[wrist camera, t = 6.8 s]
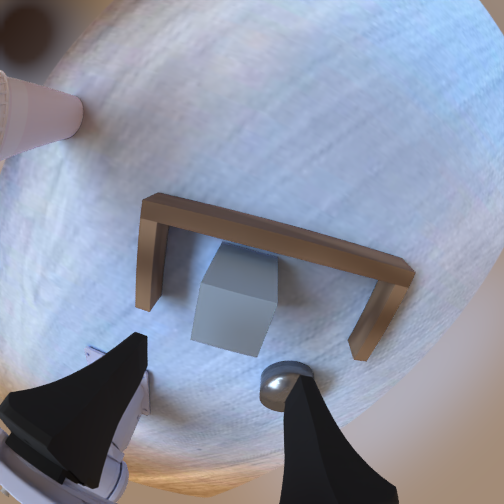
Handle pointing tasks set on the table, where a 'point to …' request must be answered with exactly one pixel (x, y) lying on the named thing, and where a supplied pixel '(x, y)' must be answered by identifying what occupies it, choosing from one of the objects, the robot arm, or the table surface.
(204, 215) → the walnut bay
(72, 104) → the smoothie
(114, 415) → the robot arm
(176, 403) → the table surface
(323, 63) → the table surface
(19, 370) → the table surface
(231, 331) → the grey block
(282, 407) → the grey puck
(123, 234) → the table surface
